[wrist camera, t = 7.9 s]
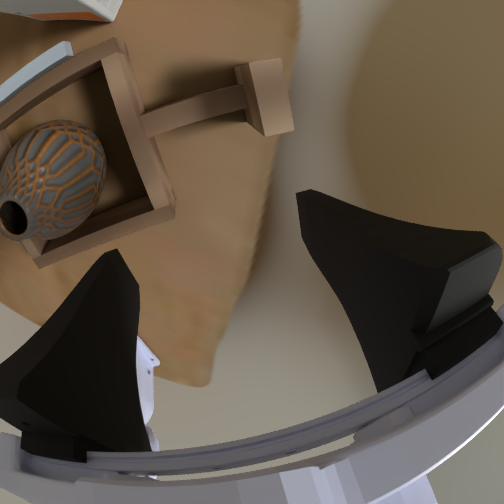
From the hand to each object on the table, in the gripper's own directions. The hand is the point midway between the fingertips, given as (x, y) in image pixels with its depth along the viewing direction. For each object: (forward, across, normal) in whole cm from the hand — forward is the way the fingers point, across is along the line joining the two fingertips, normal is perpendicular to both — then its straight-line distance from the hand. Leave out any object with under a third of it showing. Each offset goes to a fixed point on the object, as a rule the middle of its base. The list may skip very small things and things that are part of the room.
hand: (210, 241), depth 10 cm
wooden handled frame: (+10, +4, -4) cm, 12 cm away
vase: (+10, +9, -4) cm, 14 cm away
